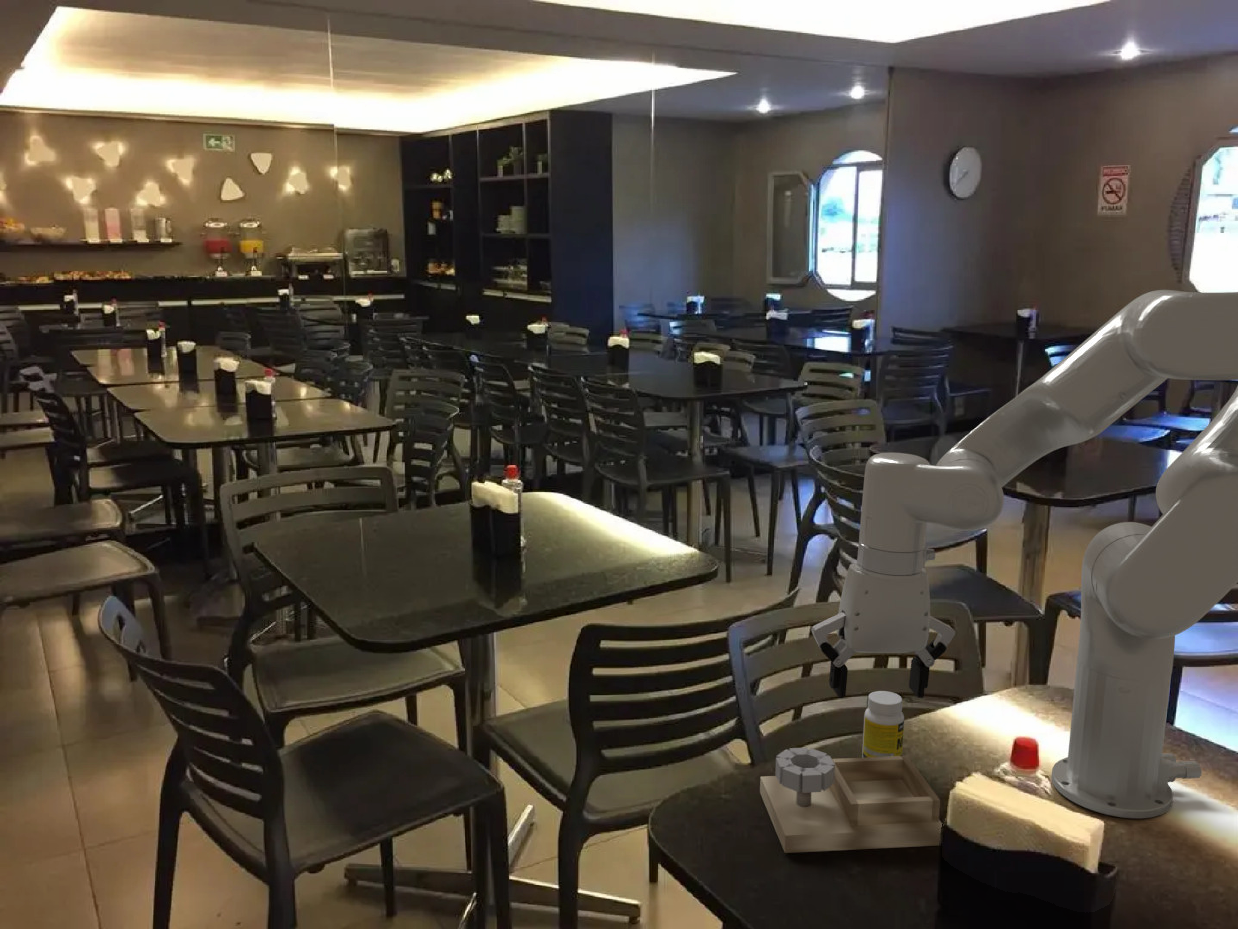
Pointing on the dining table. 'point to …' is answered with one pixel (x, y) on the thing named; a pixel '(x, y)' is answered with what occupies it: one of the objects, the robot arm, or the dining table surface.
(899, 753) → the supplement bottle
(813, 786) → the wheel
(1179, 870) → the dining table surface
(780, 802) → the wooden peg tray
